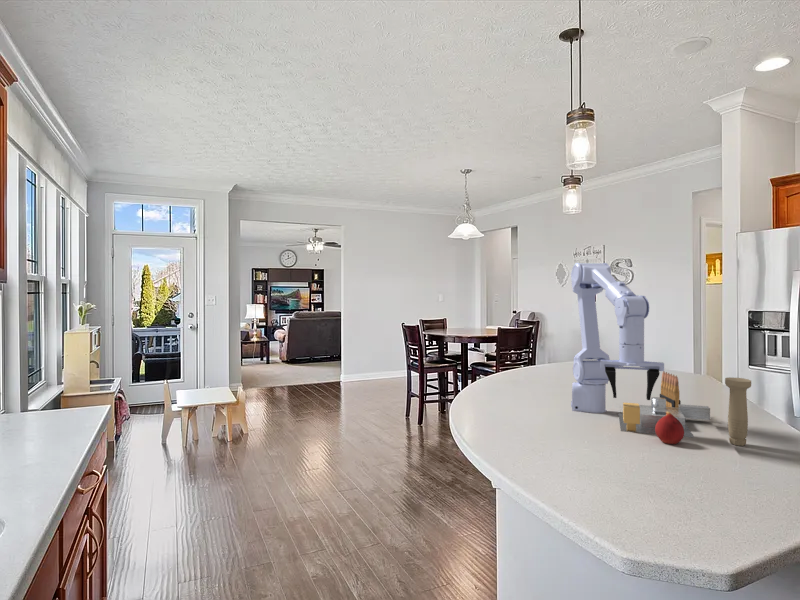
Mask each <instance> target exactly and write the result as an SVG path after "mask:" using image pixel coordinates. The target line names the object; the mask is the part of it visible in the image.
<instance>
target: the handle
mask: <svg viewBox="0 0 800 600" xmlns="http://www.w3.org/2000/svg"><path fill="white" fill-rule="evenodd" d="M724 383H725V386H726V387H727V388H728V389H729V398H728V399H729V400H728V411H727V412H728V413H727V428H728V440H729V444H731V445H734V446H739V447H743V446H745V445H746V444H747V437H748V429H749V428H748V427H749V426H748V425H749V418H748V417H749V416H748V401H747V400H748V397H747V390H748V389H749V388H751V387H752V380H750V379H749V378H744V377H725V379H724Z"/></svg>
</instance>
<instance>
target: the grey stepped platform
mask: <svg viewBox="0 0 800 600" xmlns="http://www.w3.org/2000/svg"><path fill="white" fill-rule="evenodd" d="M650 403H651V405H645V404H644V405H643V404H639V407H640V424H636V431H632V430H627V423H624V421H623V413H620V412H619V413H617V414H618V419H619V427H620V432H626V433H636V434H637V433H638V434H639V433H640V434H650V435H656V432H655V426H656V424H657V422H658V421H659V420H660V419H661V418H662V417H664V416H666V412H670V413H671V414H672V415H673V416H674V417H675V418H677V419H678V420H679V421H680V423H681V424H682V426H683V428H684V437H683V438H686V437H687V438H695V436H694V434H693V433H692V431H691V430H690V429H689V427H688V425H687V424H686V419H694V420H704V421H705V420H707V421H708V420H709V421H711V408H710V407H709V406H708V405H698V404H697V405H694V404H682V403H681V404H679V407H678V408H677V407H666V399H665V398H661V397H660V396H651V398H650Z"/></svg>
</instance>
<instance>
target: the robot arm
mask: <svg viewBox="0 0 800 600" xmlns="http://www.w3.org/2000/svg"><path fill="white" fill-rule="evenodd" d="M570 278H571V289H572V292H573V293H574V294H576V296H577V304H578V315H579V327H580V328H579V329H580V338H581V339H580V340H581V350H580V351H579V352H577V353H576V354H575V356H574V357H573V367H572V375H573V377H574V379H575V380H576V381H575V382H572V383H571V384H572V385H571V386H572V387H571V403H570V408H571V411H572V412H581V413H582V412H584V413H589V414H590V413H592V414H593V413H594V414H601V413H603V414H604V413H605V412H608V409H606V403H607V400H606V398H607V397H606V396H607V395H606V391H607V389H606V388H607V386H606V385H608V384H609V383H610V384H609V385H610V387H611V390H612V395H613V396H612V397H613V399H617V386H616V385H617V384H616V381H617V380H616V379H617V377H616V375H617V372H616V371H617V369H618V370H619V369H620V370H641V371H646V381H647V382H646V383H647V384H646V395H645V397H646V401H651V398H652V392H653V389H654V386H655V385H656V382H657V380H658V378H659V376H660V372H663V371H664V372H665V363H664V362H660V361H658V362H657V361H645V319H646V318H647V317H648V316H649V313H650V303H649V302H650V301H649V300H648V298H647V297H646V296H645V295H638V294H637V295H636V294H635V292H633V291H632V289H630V287H628V286H627V285H626V283H625V281H622V280H621V281H618V280H616V278H615V277H614V276H613V275H612V268H611V266H610V265H609V263H607V262H599V263H597V262H596V263H595V262H593V263H591V262H590V263H589V262H585V263H584V262H581V263H580V262H575V263H574V265H572V269H571V272H570ZM603 290H604V293H605V297H606V299H607V300H608V301H609V302H610V303H611V304H612V305H613V306H614V314H615V316H616V323H617V326H619V327H618V328H619V329H618V330H619V332H618V334H619V335H618V336H619V337H618V344H619V345H618V349H619V350H618V358H619V359H613V360H612V359H610V355H609V354H608V353H606V352H605V351H603V350H602V348H601V345H600V343H601V342H600V332H599V322H598V313H597V303H596V296H597V294H600V293H602V292H603Z"/></svg>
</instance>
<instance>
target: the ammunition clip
mask: <svg viewBox="0 0 800 600" xmlns="http://www.w3.org/2000/svg"><path fill="white" fill-rule="evenodd" d="M679 385H680V384H679V378H678V375H675V374H672V373H670V372H667V371H666V372H665V370H664V371H662V374H661V383H660V393H659V397H661V398H665V399H666V407H677V408H678V407H679V404H682V402H681V399H680V386H679Z"/></svg>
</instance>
